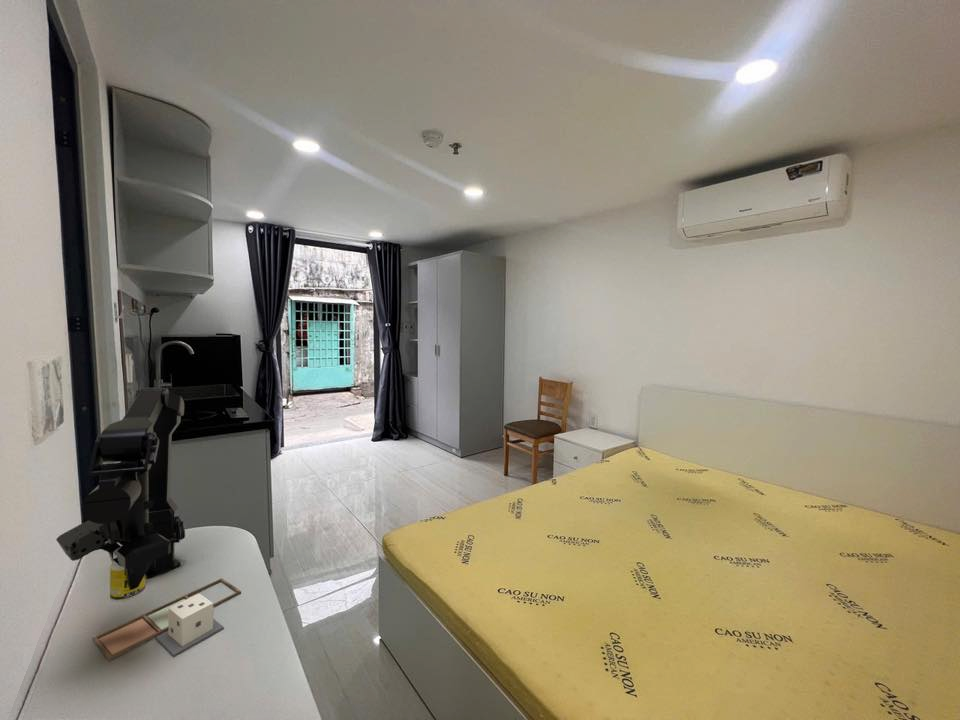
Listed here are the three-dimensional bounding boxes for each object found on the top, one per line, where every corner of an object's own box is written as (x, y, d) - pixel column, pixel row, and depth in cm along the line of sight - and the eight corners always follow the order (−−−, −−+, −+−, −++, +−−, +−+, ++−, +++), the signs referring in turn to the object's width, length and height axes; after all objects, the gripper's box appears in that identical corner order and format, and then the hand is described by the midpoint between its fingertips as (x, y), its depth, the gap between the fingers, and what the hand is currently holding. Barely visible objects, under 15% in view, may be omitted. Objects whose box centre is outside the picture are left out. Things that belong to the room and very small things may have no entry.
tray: (92, 640, 71) (92, 637, 71) (221, 580, 89) (221, 578, 89) (109, 660, 67) (109, 658, 67) (240, 593, 85) (241, 591, 85)
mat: (155, 639, 72) (155, 637, 72) (205, 613, 79) (205, 611, 79) (173, 657, 68) (173, 654, 68) (223, 628, 75) (223, 626, 75)
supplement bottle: (124, 605, 69) (124, 558, 68) (102, 600, 70) (102, 554, 69) (152, 588, 74) (152, 544, 73) (131, 584, 75) (131, 540, 74)
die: (168, 634, 73) (167, 607, 72) (198, 618, 77) (199, 592, 77) (182, 646, 70) (182, 619, 70) (213, 628, 75) (213, 602, 74)
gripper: (45, 499, 69) (47, 587, 70) (83, 532, 59) (84, 633, 60) (128, 480, 78) (128, 557, 79) (172, 506, 68) (172, 594, 70)
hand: (128, 583), depth 72 cm, fingers closed on supplement bottle, 5 cm apart
